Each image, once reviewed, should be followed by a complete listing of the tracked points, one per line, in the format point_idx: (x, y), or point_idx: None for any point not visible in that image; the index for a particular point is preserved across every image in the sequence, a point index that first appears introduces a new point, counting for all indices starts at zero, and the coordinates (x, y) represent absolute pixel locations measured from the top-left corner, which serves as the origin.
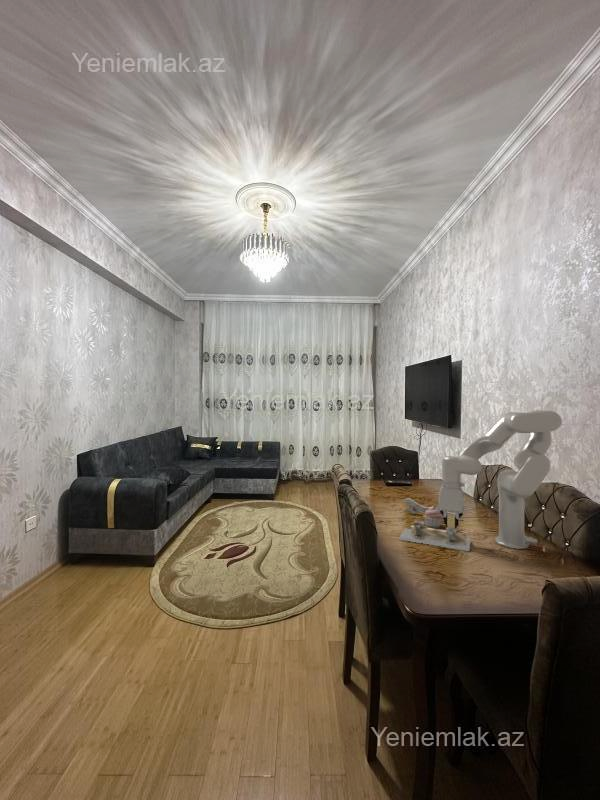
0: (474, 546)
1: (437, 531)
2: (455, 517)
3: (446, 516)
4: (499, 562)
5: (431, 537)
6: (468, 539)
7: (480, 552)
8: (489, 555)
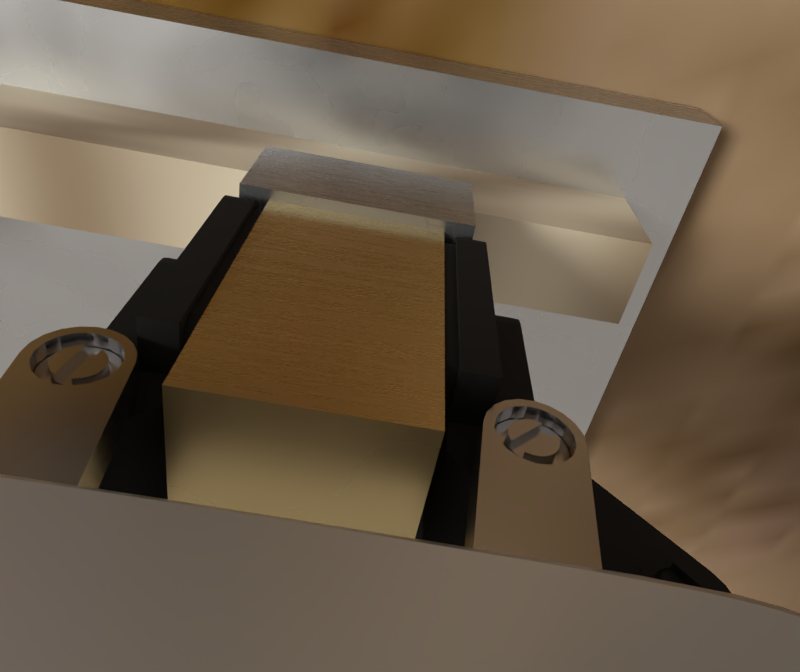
0: (689, 287)
1: (105, 227)
2: (428, 538)
3: (153, 491)
4: (768, 599)
5: (66, 272)
6: (664, 193)
7: (683, 446)
8: (753, 493)
